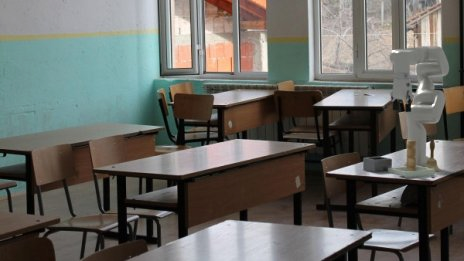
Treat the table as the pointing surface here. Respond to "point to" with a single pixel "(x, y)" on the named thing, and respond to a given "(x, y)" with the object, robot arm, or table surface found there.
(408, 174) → the tray
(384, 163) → the grey socket block
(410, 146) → the dowel
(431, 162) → the hand bell
